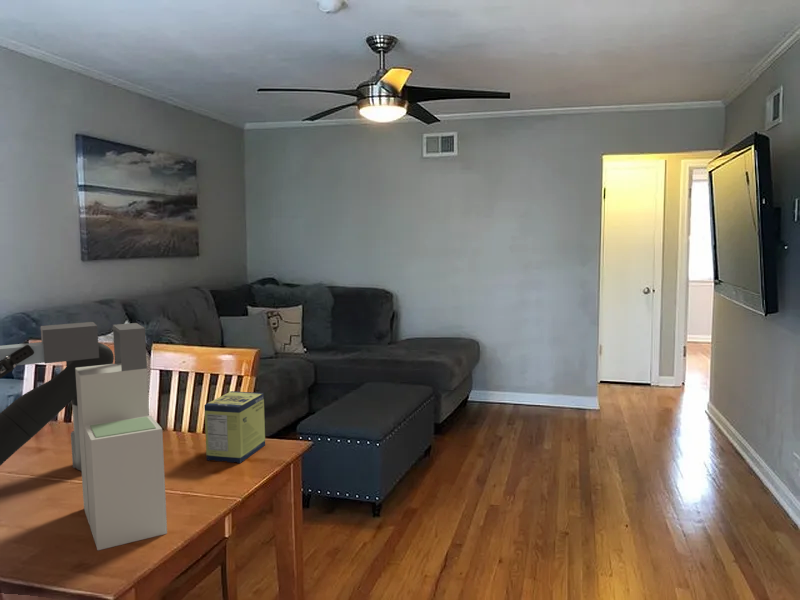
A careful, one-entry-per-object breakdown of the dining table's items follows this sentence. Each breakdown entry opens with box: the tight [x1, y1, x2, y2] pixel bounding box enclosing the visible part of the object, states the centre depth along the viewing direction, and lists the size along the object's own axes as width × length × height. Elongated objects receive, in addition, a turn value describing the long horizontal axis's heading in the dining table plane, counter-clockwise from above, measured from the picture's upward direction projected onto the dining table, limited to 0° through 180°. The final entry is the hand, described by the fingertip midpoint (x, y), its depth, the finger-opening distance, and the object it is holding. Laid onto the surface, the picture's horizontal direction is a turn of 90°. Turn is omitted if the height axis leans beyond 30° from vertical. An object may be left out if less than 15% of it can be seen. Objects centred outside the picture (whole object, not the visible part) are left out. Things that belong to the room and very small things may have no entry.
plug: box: [0, 321, 99, 367], centre depth 132 cm, size 19×7×7 cm, turn 122°
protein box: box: [203, 390, 266, 464], centre depth 179 cm, size 10×16×16 cm
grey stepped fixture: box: [75, 322, 168, 551], centre depth 136 cm, size 13×22×41 cm, turn 32°
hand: (30, 346), depth 131 cm, fingers closed on plug, 4 cm apart
